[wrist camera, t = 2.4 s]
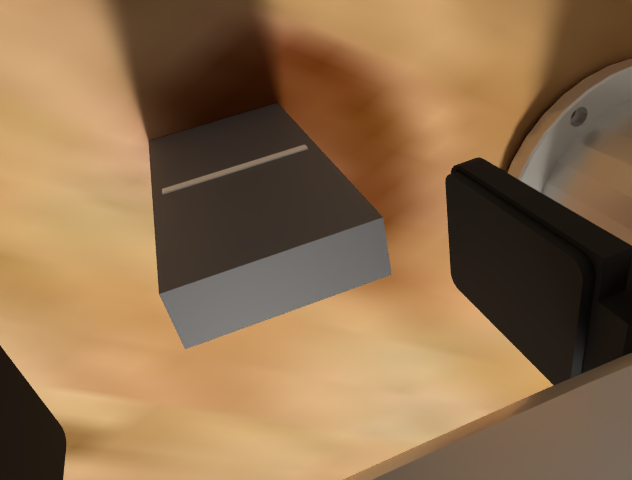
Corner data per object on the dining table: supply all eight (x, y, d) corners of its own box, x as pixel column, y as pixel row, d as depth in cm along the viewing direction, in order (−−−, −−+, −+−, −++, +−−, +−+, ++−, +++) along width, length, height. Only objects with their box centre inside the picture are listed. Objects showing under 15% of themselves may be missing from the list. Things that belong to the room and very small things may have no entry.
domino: (148, 139, 19) (158, 291, 10) (277, 101, 19) (382, 215, 11) (164, 180, 20) (186, 350, 11) (287, 142, 20) (392, 276, 12)
